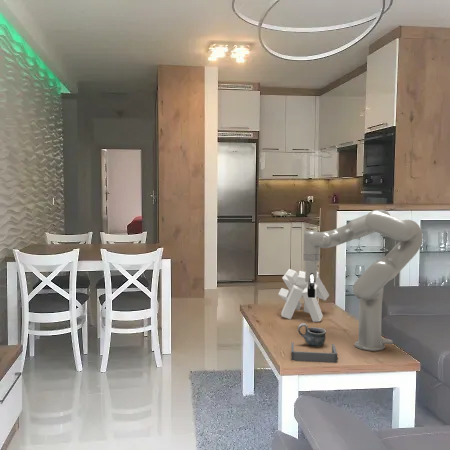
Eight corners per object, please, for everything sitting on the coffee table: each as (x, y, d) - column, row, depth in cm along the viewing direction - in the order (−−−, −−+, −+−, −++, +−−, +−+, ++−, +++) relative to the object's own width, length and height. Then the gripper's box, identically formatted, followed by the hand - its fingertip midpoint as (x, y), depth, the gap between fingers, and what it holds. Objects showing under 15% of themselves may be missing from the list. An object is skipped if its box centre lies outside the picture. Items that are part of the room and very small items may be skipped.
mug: (329, 348, 213) (330, 325, 212) (302, 350, 210) (303, 327, 209) (320, 341, 222) (320, 319, 222) (294, 343, 219) (294, 321, 219)
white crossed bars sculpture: (276, 316, 290) (258, 267, 277) (322, 296, 292) (306, 247, 278) (296, 349, 258) (276, 296, 244) (347, 327, 260) (331, 272, 246)
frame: (334, 352, 207) (334, 344, 207) (337, 362, 194) (337, 354, 194) (291, 350, 209) (291, 342, 209) (291, 360, 196) (291, 352, 196)
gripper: (303, 255, 237) (302, 292, 238) (303, 259, 220) (303, 299, 221) (318, 255, 236) (318, 292, 237) (320, 260, 219) (320, 300, 220)
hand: (311, 295), depth 229 cm, fingers open, 5 cm apart
